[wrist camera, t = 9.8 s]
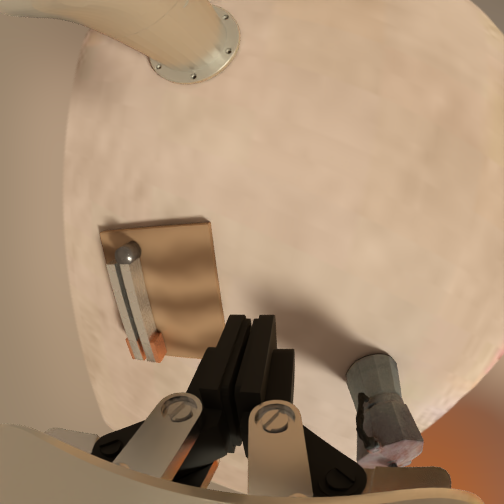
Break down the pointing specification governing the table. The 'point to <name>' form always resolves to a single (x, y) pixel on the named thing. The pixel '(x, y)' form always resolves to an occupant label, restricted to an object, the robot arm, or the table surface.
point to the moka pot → (382, 414)
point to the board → (177, 283)
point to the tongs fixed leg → (125, 310)
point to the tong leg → (140, 301)
